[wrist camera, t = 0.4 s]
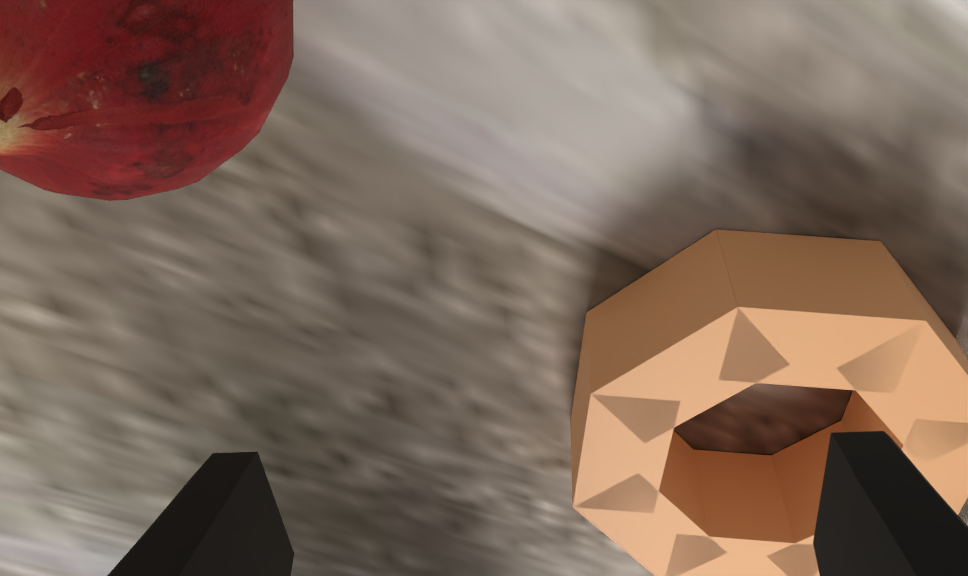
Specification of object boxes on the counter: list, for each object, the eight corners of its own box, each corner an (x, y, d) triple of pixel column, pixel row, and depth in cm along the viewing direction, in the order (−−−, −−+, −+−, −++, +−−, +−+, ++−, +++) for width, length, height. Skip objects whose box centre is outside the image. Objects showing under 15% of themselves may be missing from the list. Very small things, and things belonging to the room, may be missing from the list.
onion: (330, -189, 16) (177, -80, 9) (333, 106, 19) (222, 336, 13) (8, -225, 16) (-365, -140, 9) (68, 77, 19) (-177, 292, 13)
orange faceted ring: (875, 512, 26) (909, 602, 23) (561, 487, 26) (561, 574, 24) (998, 249, 20) (1059, 330, 18) (599, 221, 21) (606, 297, 18)
